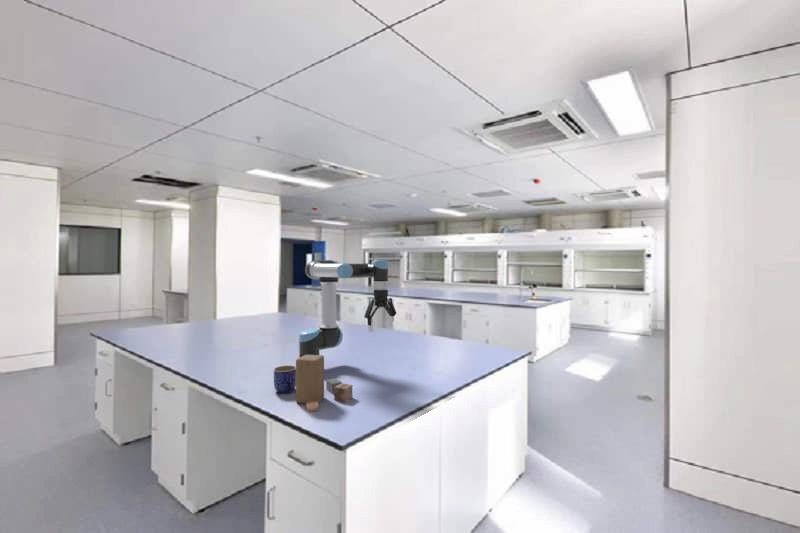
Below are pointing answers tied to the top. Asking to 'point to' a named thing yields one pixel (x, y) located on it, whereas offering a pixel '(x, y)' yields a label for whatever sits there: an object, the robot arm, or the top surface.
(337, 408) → the top surface
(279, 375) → the planter
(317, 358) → the wooden block
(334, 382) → the gray block
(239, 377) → the top surface
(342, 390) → the walnut cube
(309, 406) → the terracotta puck
